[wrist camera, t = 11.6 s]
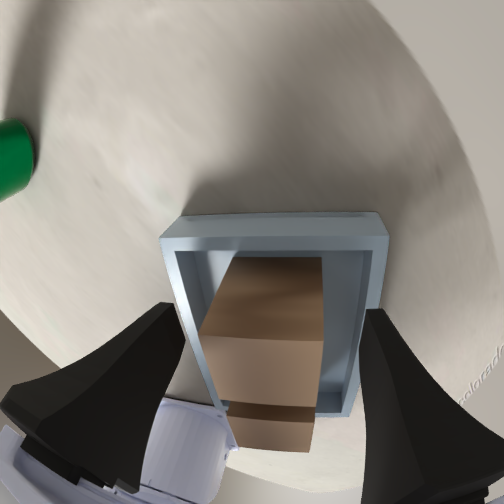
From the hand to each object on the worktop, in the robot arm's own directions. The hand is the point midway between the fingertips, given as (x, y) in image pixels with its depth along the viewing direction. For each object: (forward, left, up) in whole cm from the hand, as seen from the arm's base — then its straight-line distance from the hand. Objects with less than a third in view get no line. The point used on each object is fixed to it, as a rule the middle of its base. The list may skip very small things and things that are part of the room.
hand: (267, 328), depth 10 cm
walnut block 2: (-6, 0, -3) cm, 7 cm away
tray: (-4, 0, -4) cm, 5 cm away
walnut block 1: (-1, 0, -3) cm, 4 cm away
